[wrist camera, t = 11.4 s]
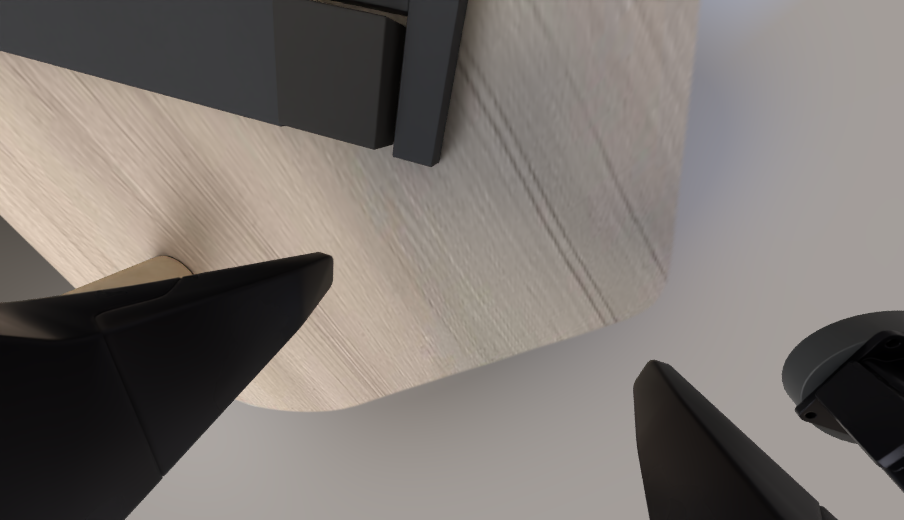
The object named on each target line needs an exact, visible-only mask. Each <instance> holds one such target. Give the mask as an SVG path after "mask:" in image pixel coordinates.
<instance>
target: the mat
mask: <svg viewBox="0 0 904 520" xmlns="http://www.w3.org/2000/svg"><path fill="white" fill-rule="evenodd" d="M333 1H337V2H342V3H347V4H352V5H357V6H362V7H367V8H371V9H376V10H381V11H386V12H391V13H396V14H400V15H405V16H408V19H407V28H406V37H405V46H404V55H403V64H402V74H401V83H400V92H399V101H398V110H397V120H396V129H395V138H394V147H393V157H396V158H400V159H403V160H407V161H411V162H414V163H418V164H422V165H425V166H429V167H432V166H434V165H435V164H437V163H439V159H440V154H441V148H442V142H443V137H444V131H445V125H446V120H447V114H448V108H449V103H450V97H451V92H452V86H453V80H454V75H455V69H456V63H457V58H458V52H459V47H460V41H461V35H462V30H463V24H464V18H465V13H466V7H467V2H468V0H333ZM0 51H4V52H7V53H11V54H15V55H18V56H22V57H26V58H29V59H33V60H37V61H41V62H44V63H48V64H52V65H55V66H59V67H63V68H67V69H70V70H74V71H78V72H81V73H85V74H89V75H92V76H96V77H100V78H104V79H107V80H111V81H115V82H118V83H122V84H126V85H129V86H133V87H137V88H141V89H144V90H148V91H152V92H155V93H159V94H163V95H166V96H170V97H174V98H178V99H181V100H185V101H189V102H192V103H196V104H200V105H204V106H207V107H211V108H215V109H218V110H222V111H226V112H229V113H233V114H237V115H241V116H244V117H248V118H252V119H255V120H259V121H263V122H266V123H270V124H274V125H278V126H285V125H281V124H279V122H278V103H277V84H276V65H275V45H274V26H273V7H272V0H0Z"/></svg>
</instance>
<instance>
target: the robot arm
mask: <svg viewBox="0 0 904 520" xmlns="http://www.w3.org/2000/svg"><path fill="white" fill-rule="evenodd" d="M332 282H333V258H332V256H330V255H327V254H324V253H321V252H316V253H310V254H305V255H299V256H293V257H288V258H282V259H277V260H271V261H266V262H260V263H255V264H249V265H244V266H238V267H233V268H227V269H222V270H216V271H211V272H205V273H200V274H194V275H188V276H183V277H182V278H180V277H177V278H171V279H166V280H160V281H154V282H149V283H143V284H137V285H130V286H124V287H117V288H110V289H103V290H96V291H89V292H81V293H74V294H67V295H60V296H52V297H45V298H37V299H30V300H23V301H14V302H3V303H2V302H1V303H0V520H125V518H127V516H128V515H129V514H130V513H131V512H132V511H133V510H134V509H135V508H136V507H137V506H138V504H139V503H140V502H141V501H142V500H143V499H144V498H145V497H146V496H147V495H148V494H149V492H150V491H151V490H152V489H153V488H154V487H155V486H156V485H157V484H158V483H159V482H160V480H161V479H162V476H164V475H166V474H167V473H168V471H169V470H170V469H171V468H172V467H173V466H174V465H175V464H176V463H177V462H178V460H179V459H180V458H181V457H182V456H183V455H184V454H185V453H186V452H187V451H188V450H189V448H190V447H191V446H192V445H193V444H194V443H195V442H196V441H197V440H198V439H199V438H200V437H201V435H202V434H203V433H204V432H205V431H206V430H207V429H208V428H209V427H210V426H211V425H212V423H213V422H214V421H215V420H216V419H217V418H218V417H219V416H220V415H221V414H222V413H223V411H224V410H225V409H226V408H227V407H228V406H229V405H230V404H231V403H232V402H233V401H234V399H235V398H236V397H237V396H238V395H239V394H240V393H241V392H242V391H243V390H244V389H245V388H246V386H247V385H248V384H249V383H250V382H251V381H252V380H253V379H254V378H255V377H256V376H257V374H258V373H259V372H260V371H261V370H262V369H263V368H264V367H265V366H266V365H267V364H268V362H269V361H270V360H271V359H272V358H273V357H274V356H275V355H276V354H277V353H278V352H279V350H280V349H281V348H282V347H283V346H284V345H285V344H286V343H287V342H288V341H289V340H290V338H291V337H292V336H293V335H294V334H295V333H296V332H297V331H298V330H299V328H300V327H301V326H302V325H303V324H304V322H305V321H306V320H307V318H308V317H309V316H310V314H311V313H312V312H313V310H314V309H315V308H316V306H317V305H318V303H319V302H320V301H321V299H322V298H323V297H324V295H325V294H326V293H327V291H328V290H329V288H330V287H331V285H332ZM889 340H890V341H889ZM887 341H889V342H887ZM633 394H634V411H635V427H636V441H637V449H638V456H639V461H640V468H641V473H642V478H643V484H644V490H645V496H646V501H647V507H648V512H649V518H650V520H837V519H836V518H835V517H834V516H833V515H832V514H831V513H830V512H829V511H828V510H827V509H825V508H824V507H823V506H819V502H818V501H817V500H816V499H815V498H813V497H812V496H811V495H810V494H809V493H808V492H807V491H806V490H805V489H804V488H803V487H802V486H800V485H799V484H798V483H797V482H796V481H795V480H794V479H793V478H792V477H791V476H789V474H787V473H786V472H785V471H784V470H783V469H782V468H781V467H780V466H779V465H778V464H777V463H776V462H774V461H773V460H772V459H771V458H770V457H769V456H768V455H767V454H766V453H765V452H764V451H763V450H761V449H760V448H759V447H758V446H757V445H756V444H755V443H754V442H753V441H752V440H751V439H750V438H748V437H747V436H746V435H745V434H744V433H743V432H742V431H741V430H740V429H739V428H738V427H736V426H735V425H734V424H733V423H732V422H731V421H730V420H729V419H728V418H727V417H726V416H724V414H722V413H721V412H720V411H719V410H718V409H717V408H716V407H715V406H714V405H713V404H711V403H710V402H709V401H708V400H707V399H706V398H705V397H704V396H703V395H702V394H701V393H700V392H699V391H698V390H696V389H695V388H694V387H693V386H692V385H691V384H690V383H689V382H687V380H686V379H685V378H683V377H682V376H681V375H680V374H679V373H678V372H677V371H676V370H675V369H674V368H673V367H672V366H670V365H669V364H666V363H663V362H660V361H657V360H650V361H649V362H648V363H647V364H646V366H645V367H644V369H643V370H642V371H641V373H640V375H639V376H638V378H637V379H636V381H635V383H634V387H633ZM795 412H796V413H797V414H798V416H799V417H800V418H801V419H802V420H804V421H806V422H809V423H812V424H816V425H819V426H822V427H825V428H828V429H831V430H834V431H837V432H840V433H843V434H846V435H849V436H851V437H852V438H853V439H854V440H855V442H856V443H857V444H858V445H859V446H860V447H861V448H862V449H863V450H864V451H865V453H866V454H867V455H868V456H869V457H870V458H871V459H872V460H873V461H874V462H875V464H876V465H878V466H879V467H881V468H882V469H883V470H884V471H885V472H886V474H887V475H888V476H889V477H890V478H891V479H892V480H893V481H894V482H895V484H897V486H898V487H899V488H900V489H901V490H902V491H903V492H904V333H901V332H898V331H894V330H883V331H880V332H878V333H876V334H875V335H874V336H873V337H871V338H870V339H869V340H868V341H867V342H866V343H865V344H864V345H863V346H862V347H861V348H859V349H858V350H857V351H856V352H855V353H854V354H853V355H852V356H851V357H850V358H849V359H848V360H846V361H845V362H844V363H843V364H842V365H841V366H840V367H839V368H838V369H837V370H836V371H834V372H833V373H832V374H831V375H830V376H829V377H828V378H827V379H826V380H825V381H824V382H823V383H821V384H820V385H819V386H818V387H817V388H816V389H815V390H814V391H813V392H812V393H811V394H809V395H808V396H807V397H806V398H805V399H804V400H803V401H802V402H801V403H800V404H799V405H798V406H796V408H795Z"/></svg>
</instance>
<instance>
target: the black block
mask: <svg viewBox="0 0 904 520" xmlns="http://www.w3.org/2000/svg"><path fill="white" fill-rule="evenodd" d="M272 7H273V26H274V45H275V65H276V84H277V103H278V122H279V124H281V125H285V126H289V127H292V128H296V129H300V130H303V131H307V132H311V133H315V134H318V135H322V136H326V137H329V138H333V139H337V140H340V141H344V142H348V143H351V144H355V145H359V146H363V147H366V148H370V149H374V150H375V149H378V148H382V147H385V146H389V145H392V144H393V141H394V132H395V123H396V113H397V104H398V95H399V86H400V77H401V68H402V59H403V49H404V40H405V31H406V27H405V26H403V25H401V24H399V23H397V22H396V21H394V20H392V19H390V18H388V17H386V16H382V15H378V14H373V13H368V12H363V11H359V10H354V9H349V8H344V7H340V6H335V5H330V4H325V3H321V2H316V1H311V0H272Z"/></svg>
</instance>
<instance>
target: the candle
mask: <svg viewBox="0 0 904 520" xmlns="http://www.w3.org/2000/svg"><path fill="white" fill-rule="evenodd" d="M188 275H193V274H192V273H191V272H190V271H189V270H188V269H187V268H186V267H185V266H184V265H183V264H181V263H180V262H179V261H177V260H175V259H173V258H171V257H167V256H159V257H155V258H152V259H150V260H147V261H144V262H142V263H139V264H137V265H134V266H132V267H129V268H127V269H124V270H122V271H119V272H117V273H114V274H112V275H109V276H107V277H104V278H102V279H99V280H97V281H94V282H92V283H89V284H87V285H84V286H82V287H79V288H77V289H74V290H72V291H69V292H67V293H64V294H62V295H67V294H74V293H81V292H89V291H96V290H103V289H110V288H117V287H124V286H130V285H137V284H143V283H149V282H154V281H160V280H166V279H171V278H177V277H180V278H182V277H183V276H188Z"/></svg>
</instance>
